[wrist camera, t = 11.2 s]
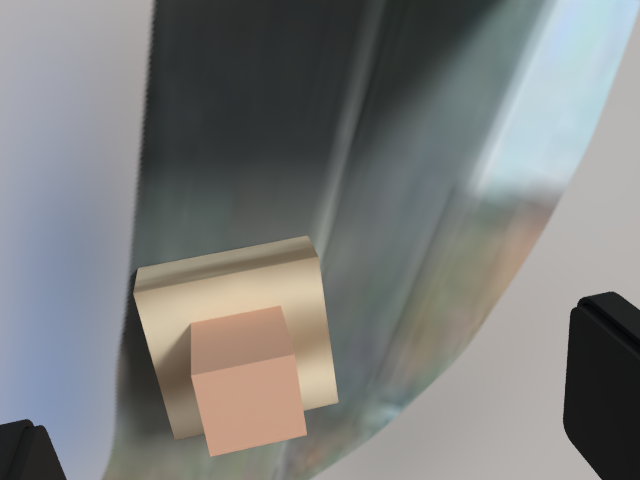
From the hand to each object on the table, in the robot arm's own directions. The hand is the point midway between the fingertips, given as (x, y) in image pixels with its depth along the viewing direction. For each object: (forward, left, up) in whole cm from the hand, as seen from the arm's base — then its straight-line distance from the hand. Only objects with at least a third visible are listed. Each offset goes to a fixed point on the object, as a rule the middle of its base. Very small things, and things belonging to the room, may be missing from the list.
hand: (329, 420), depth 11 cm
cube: (+14, -2, -24) cm, 28 cm away
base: (+14, -2, -28) cm, 31 cm away
